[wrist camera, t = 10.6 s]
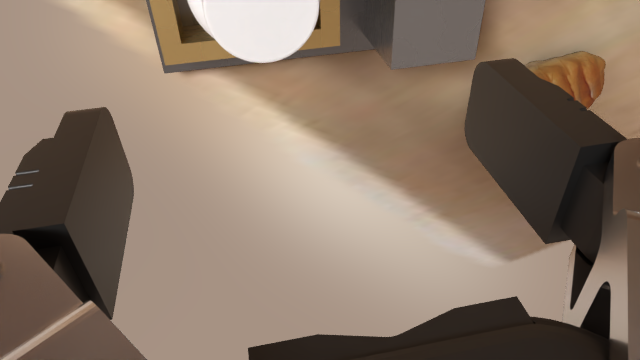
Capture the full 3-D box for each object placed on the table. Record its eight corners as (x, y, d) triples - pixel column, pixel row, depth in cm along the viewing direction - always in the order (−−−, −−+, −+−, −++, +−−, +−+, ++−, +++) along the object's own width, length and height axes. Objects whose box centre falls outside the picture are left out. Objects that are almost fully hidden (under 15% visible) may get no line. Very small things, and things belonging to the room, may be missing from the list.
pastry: (581, 20, 32) (621, 41, 29) (597, 92, 36) (633, 117, 33) (458, 97, 34) (483, 124, 31) (486, 157, 38) (511, 187, 35)
